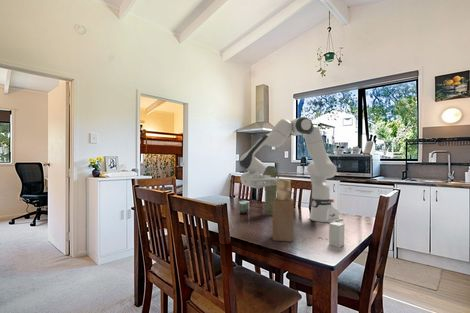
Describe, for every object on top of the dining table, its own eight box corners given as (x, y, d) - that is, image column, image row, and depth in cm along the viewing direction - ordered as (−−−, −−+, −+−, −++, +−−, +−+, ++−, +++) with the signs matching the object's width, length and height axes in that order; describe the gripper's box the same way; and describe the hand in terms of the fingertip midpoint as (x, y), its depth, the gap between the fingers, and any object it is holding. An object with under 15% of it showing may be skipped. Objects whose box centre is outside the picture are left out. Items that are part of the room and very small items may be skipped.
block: (293, 242, 123) (293, 201, 123) (272, 241, 125) (272, 200, 125) (292, 236, 133) (293, 198, 133) (273, 235, 135) (273, 197, 135)
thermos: (263, 212, 190) (264, 165, 190) (279, 213, 186) (279, 166, 186) (260, 214, 182) (261, 166, 182) (277, 216, 178) (277, 166, 178)
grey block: (334, 242, 124) (334, 221, 124) (344, 244, 120) (344, 223, 120) (329, 244, 121) (329, 223, 121) (339, 247, 117) (339, 225, 117)
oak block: (284, 198, 132) (284, 179, 132) (290, 199, 128) (290, 180, 128) (276, 198, 130) (276, 179, 130) (282, 200, 125) (282, 180, 125)
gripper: (242, 176, 147) (254, 177, 134) (271, 175, 156) (285, 177, 144) (241, 186, 147) (254, 189, 134) (271, 185, 156) (285, 188, 144)
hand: (270, 183), depth 139 cm, fingers open, 8 cm apart
